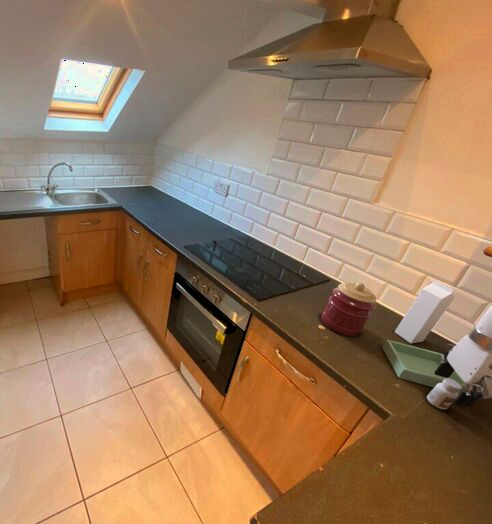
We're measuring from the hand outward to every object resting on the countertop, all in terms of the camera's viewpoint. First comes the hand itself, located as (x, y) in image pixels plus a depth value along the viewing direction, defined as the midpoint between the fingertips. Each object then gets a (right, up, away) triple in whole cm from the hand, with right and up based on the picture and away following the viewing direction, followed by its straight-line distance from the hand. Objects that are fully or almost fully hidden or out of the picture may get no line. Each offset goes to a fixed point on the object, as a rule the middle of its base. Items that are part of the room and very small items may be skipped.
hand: (450, 389), depth 79 cm
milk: (+13, +7, +27) cm, 31 cm away
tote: (+4, +1, +13) cm, 14 cm away
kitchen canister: (-10, +11, +30) cm, 33 cm away
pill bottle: (-1, -5, +2) cm, 6 cm away
